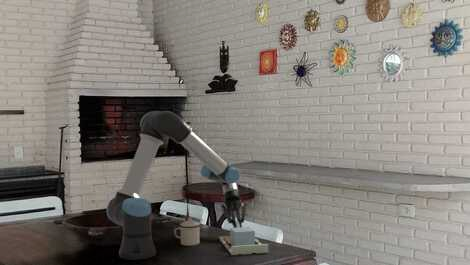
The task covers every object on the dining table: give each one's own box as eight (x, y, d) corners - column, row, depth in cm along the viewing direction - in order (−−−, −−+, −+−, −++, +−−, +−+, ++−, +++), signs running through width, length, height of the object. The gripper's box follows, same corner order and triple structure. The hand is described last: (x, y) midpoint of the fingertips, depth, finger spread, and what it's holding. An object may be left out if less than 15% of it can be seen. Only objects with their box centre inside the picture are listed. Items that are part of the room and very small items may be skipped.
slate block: (230, 244, 231) (230, 227, 231) (249, 242, 233) (249, 226, 233) (235, 249, 222) (235, 232, 222) (254, 247, 224) (254, 230, 224)
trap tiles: (224, 239, 239) (224, 238, 239) (247, 237, 242) (247, 237, 242) (227, 243, 232) (227, 242, 232) (251, 241, 234) (251, 241, 234)
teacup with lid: (201, 241, 236) (201, 216, 236) (197, 246, 227) (197, 220, 227) (176, 240, 238) (176, 216, 237) (171, 245, 229) (171, 220, 228)
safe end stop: (231, 254, 213) (231, 246, 213) (267, 251, 216) (267, 243, 216) (231, 255, 212) (231, 246, 212) (268, 252, 215) (268, 244, 215)
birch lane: (218, 238, 240) (218, 236, 240) (251, 236, 244) (251, 234, 244) (231, 254, 213) (231, 251, 213) (267, 251, 216) (267, 249, 216)
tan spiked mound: (170, 228, 267) (170, 203, 267) (178, 224, 277) (177, 200, 276) (197, 229, 263) (196, 204, 262) (203, 225, 272) (203, 201, 272)
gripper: (242, 197, 255) (251, 238, 239) (217, 199, 252) (224, 240, 236) (245, 188, 249) (254, 229, 233) (219, 189, 246) (226, 231, 231)
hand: (239, 234), depth 235 cm, fingers closed
